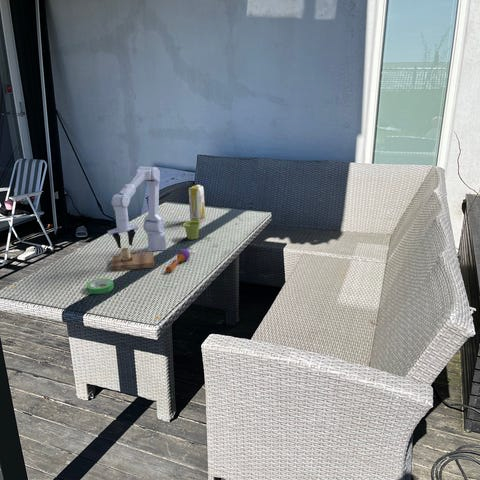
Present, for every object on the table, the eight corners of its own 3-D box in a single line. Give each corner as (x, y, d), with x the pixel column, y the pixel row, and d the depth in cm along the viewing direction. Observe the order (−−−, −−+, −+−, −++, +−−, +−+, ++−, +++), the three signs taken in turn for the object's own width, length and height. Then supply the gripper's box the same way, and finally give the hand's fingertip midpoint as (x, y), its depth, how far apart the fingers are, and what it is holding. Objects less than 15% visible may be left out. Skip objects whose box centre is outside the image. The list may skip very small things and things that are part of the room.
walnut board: (153, 257, 233) (153, 252, 232) (153, 267, 220) (153, 262, 219) (113, 260, 230) (112, 255, 229) (111, 271, 217) (110, 266, 216)
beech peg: (129, 262, 227) (127, 247, 224) (132, 264, 224) (130, 249, 221) (121, 264, 225) (119, 248, 222) (124, 266, 222) (122, 251, 219)
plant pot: (181, 239, 259) (180, 225, 256) (189, 234, 267) (188, 220, 264) (196, 241, 255) (195, 226, 252) (203, 236, 263) (202, 222, 261)
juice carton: (201, 224, 285) (199, 186, 278) (189, 223, 288) (187, 186, 280) (206, 220, 294) (204, 183, 286) (194, 219, 296) (192, 183, 288)
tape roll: (88, 296, 192) (88, 290, 191) (86, 286, 201) (85, 280, 200) (115, 291, 196) (115, 285, 195) (111, 282, 205) (111, 276, 205)
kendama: (161, 264, 213) (179, 247, 231) (164, 276, 215) (182, 258, 233) (172, 263, 211) (190, 246, 229) (176, 275, 213) (193, 257, 231)
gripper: (133, 215, 224) (135, 241, 228) (104, 220, 216) (107, 247, 220) (139, 218, 218) (141, 244, 223) (109, 223, 211) (112, 251, 215)
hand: (125, 246), depth 221 cm, fingers open, 5 cm apart
